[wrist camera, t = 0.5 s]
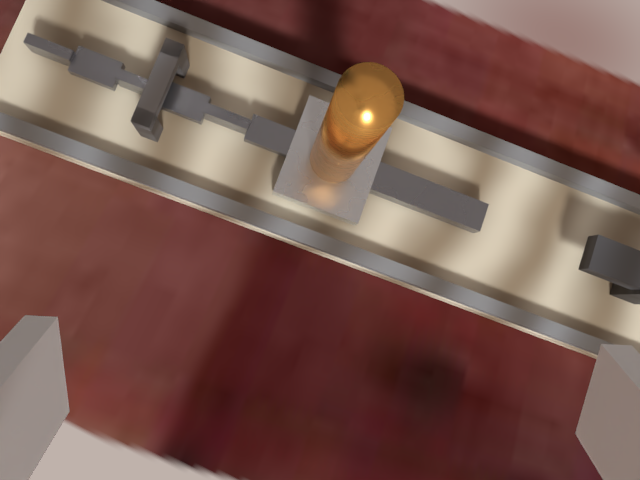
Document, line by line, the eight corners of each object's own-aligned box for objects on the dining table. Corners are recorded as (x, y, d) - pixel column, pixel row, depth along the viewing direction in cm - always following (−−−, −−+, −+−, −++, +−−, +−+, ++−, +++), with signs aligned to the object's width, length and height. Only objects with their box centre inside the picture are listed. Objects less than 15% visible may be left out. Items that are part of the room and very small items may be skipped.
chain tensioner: (12, 95, 38) (-115, -14, 25) (55, 1, 39) (-44, -152, 26) (462, 266, 40) (564, 250, 27) (492, 174, 41) (605, 115, 28)
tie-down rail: (-20, 127, 39) (-60, 102, 34) (51, -27, 41) (24, -72, 36) (629, 371, 43) (678, 380, 38) (670, 220, 44) (723, 210, 39)
